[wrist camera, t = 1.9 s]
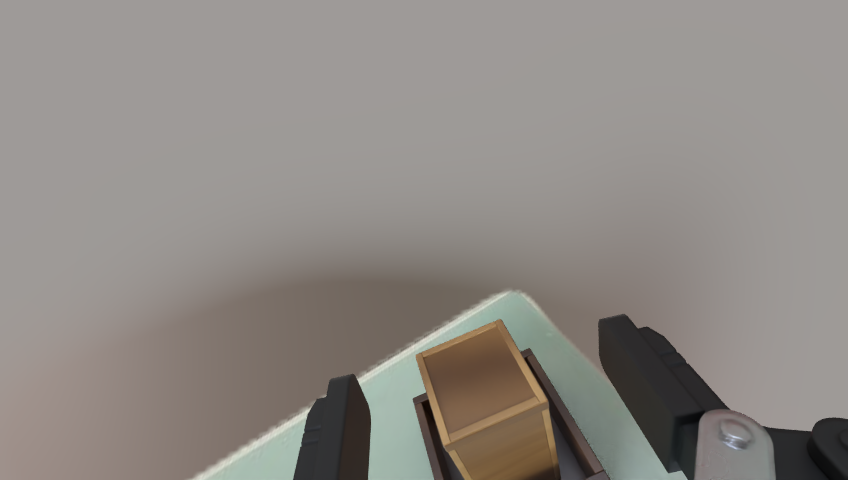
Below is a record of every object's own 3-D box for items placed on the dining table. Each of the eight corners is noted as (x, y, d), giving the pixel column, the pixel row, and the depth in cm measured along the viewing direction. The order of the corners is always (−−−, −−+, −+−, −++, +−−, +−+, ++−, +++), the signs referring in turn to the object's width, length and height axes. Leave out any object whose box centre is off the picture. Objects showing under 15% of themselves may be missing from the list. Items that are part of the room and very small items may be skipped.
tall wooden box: (562, 479, 26) (548, 400, 19) (484, 514, 26) (442, 446, 19) (523, 403, 31) (500, 317, 24) (456, 432, 30) (414, 354, 24)
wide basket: (610, 502, 25) (611, 480, 22) (469, 566, 25) (453, 550, 22) (535, 375, 33) (529, 347, 30) (427, 422, 32) (412, 398, 30)
